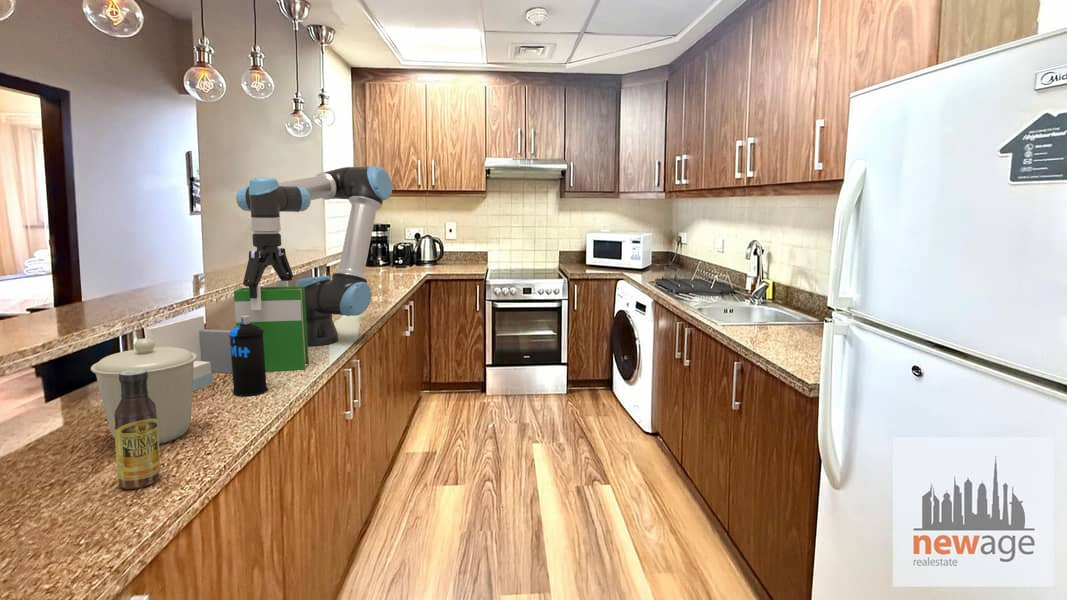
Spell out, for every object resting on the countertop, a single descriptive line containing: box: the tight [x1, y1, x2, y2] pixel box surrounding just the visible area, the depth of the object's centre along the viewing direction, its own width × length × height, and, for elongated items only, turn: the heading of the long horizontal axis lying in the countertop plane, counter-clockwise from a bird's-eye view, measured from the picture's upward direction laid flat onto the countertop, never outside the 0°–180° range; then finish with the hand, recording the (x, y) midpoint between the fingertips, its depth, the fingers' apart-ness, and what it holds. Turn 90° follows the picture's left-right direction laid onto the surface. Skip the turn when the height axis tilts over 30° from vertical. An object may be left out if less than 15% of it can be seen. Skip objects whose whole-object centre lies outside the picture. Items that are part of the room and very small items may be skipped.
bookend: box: [199, 329, 233, 374], centre depth 172 cm, size 2×11×12 cm, turn 80°
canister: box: [90, 337, 197, 445], centre depth 121 cm, size 18×18×21 cm
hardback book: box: [233, 285, 310, 373], centre depth 174 cm, size 18×7×24 cm, turn 102°
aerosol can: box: [228, 316, 269, 398], centre depth 152 cm, size 8×8×20 cm
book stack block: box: [193, 361, 214, 392], centre depth 158 cm, size 8×11×6 cm
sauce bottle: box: [114, 369, 161, 490], centre depth 102 cm, size 7×6×20 cm
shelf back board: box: [146, 315, 205, 361], centre depth 164 cm, size 19×1×16 cm, turn 170°
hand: (271, 305), depth 173 cm, fingers open, 13 cm apart
